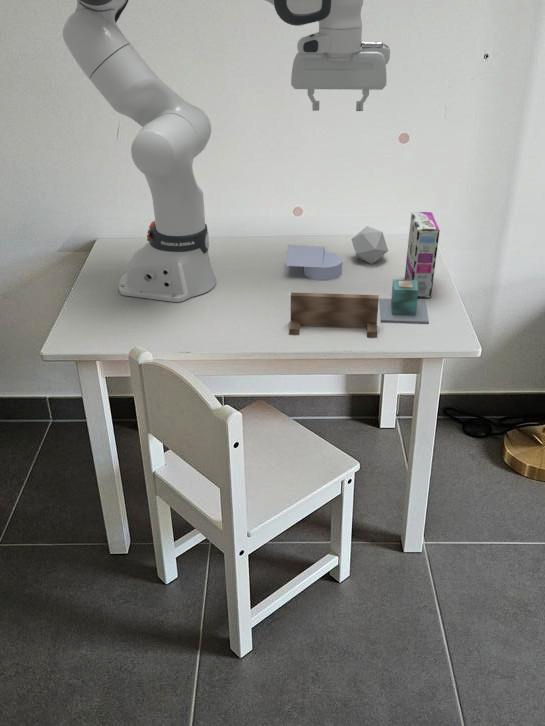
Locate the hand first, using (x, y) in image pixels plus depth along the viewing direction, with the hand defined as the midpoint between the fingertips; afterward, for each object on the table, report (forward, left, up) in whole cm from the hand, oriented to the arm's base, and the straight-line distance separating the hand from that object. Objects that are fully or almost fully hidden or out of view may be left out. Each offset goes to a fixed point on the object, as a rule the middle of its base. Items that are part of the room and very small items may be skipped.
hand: (337, 110), depth 159 cm
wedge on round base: (-4, -3, -37) cm, 38 cm away
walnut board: (+1, -31, -37) cm, 48 cm away
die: (+9, +5, -37) cm, 39 cm away
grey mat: (+16, -22, -37) cm, 46 cm away
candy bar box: (+20, -10, -37) cm, 44 cm away
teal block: (+16, -22, -37) cm, 46 cm away
